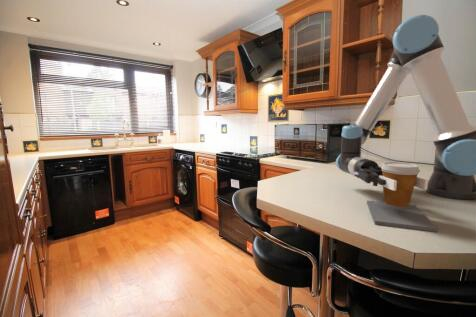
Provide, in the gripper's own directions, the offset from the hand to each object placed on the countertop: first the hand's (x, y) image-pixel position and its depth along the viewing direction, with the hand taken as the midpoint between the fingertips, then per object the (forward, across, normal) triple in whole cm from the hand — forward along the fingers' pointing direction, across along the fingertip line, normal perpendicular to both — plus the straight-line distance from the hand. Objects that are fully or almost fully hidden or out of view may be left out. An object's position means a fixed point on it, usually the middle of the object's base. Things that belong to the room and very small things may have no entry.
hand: (410, 185), depth 65 cm
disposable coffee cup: (-5, 0, -7) cm, 9 cm away
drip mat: (-5, 0, -11) cm, 12 cm away
